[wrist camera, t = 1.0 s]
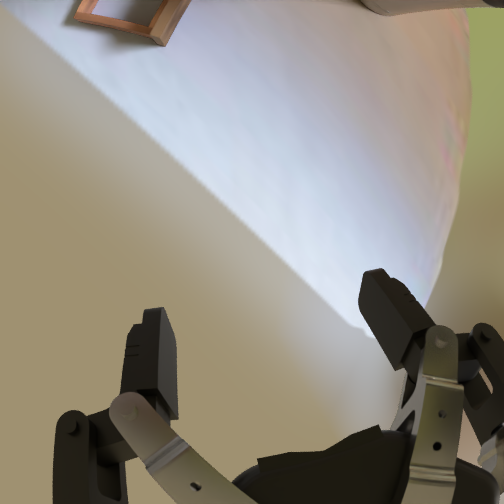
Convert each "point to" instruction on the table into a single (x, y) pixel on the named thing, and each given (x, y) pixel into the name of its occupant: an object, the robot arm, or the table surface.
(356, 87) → the table surface
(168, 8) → the shaker rack
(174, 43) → the table surface
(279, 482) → the robot arm
